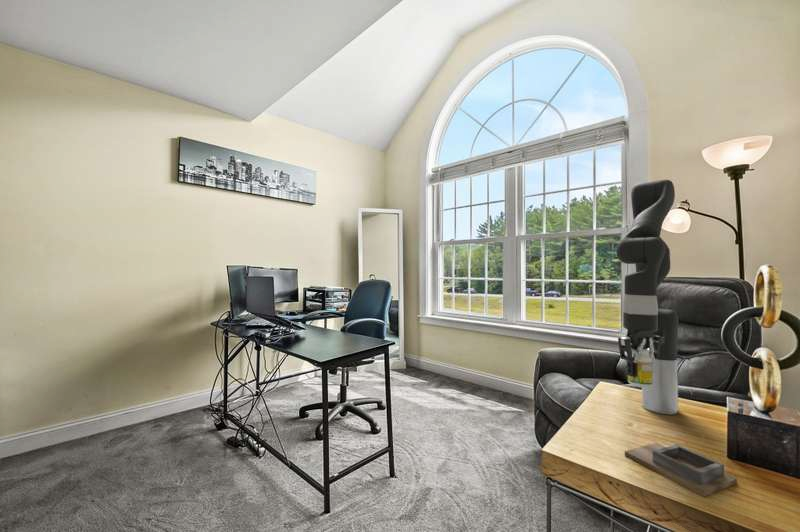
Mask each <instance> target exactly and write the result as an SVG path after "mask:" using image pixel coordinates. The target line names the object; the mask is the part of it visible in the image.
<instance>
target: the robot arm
mask: <svg viewBox="0 0 800 532" xmlns="http://www.w3.org/2000/svg"><path fill="white" fill-rule="evenodd" d="M675 190H676V189H675V185H674V183H673V181H672V180H669V179H657V180H651V181H646V182H639V183H636V184H634V185H633V186H632V188H631V192H630V200H631V210H632V216H633V218H632V219H633V222H632V225H631V228H630V231H628V232H627V233H626V234H625V235H624V236H623V237H622V238H621V239H620V241H619V242H618V244H617V246H616V250H615V251H616V257H617V259H618V260H619V262H621V263H622V264H623V263H624V264H627V265H635V272H630V273H626V274H625V276H624V296H623V306H622V309H623V311H622V316H623V317H622V318H623V320H622V322H623V325H622V327H623V328H624V329H626V330H627V332H626V335H625V336H624V337H622V336H618V338H617V341H618V342H617V343H618V351H619V357H620V359H621V360H623V361H626V373H627V376H628V375H629V376H632V377H637V376H638V363H637V361H638V357H639V355H641V354H642V350H643V349H649V355H648V357H650V358H651V359H652V372H653V384H652V386H651V387H641V406H642V408H644V409H646V410H647V411H650V412H653V413H658V414H662V415H676V414H678V411H679V382H678V335H679V315H678V313H677V312H676V310H674V309H668V308H667V309H666V308H665V309H664V308H658V307H659V303H658V298H657V297H658V296H657V295H658V294H657V291H658V288H659V286H660V285H661V283H663V281H665V279H666V278H667V276H668V275H669V273H670V270H671V250H670V248H669V246H668V244H667V243H666V242H665V241H664V239H662V237H661V232H662V228H663V227H662V226H663V223H664V220H665V219H666V218H667V216H668V214H669V213H670V211H671V209H672V207H673V205H674V202H675V198H676V197H675V196H676V194H675V193H676V191H675ZM662 338H663V341H662ZM631 348H632V349H635V350H631ZM632 353H633V354H634V356H633V357H632Z"/></svg>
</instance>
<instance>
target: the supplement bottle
mask: <svg viewBox="0 0 800 532" xmlns="http://www.w3.org/2000/svg"><path fill="white" fill-rule="evenodd" d="M631 350H635V349H632V348H631ZM648 355H649V349H643V350H642V354H641V355H639V357H638V361H637V363H638V376H637V377H632V376H629V375H628V374H627V382H628V383H629V384H630V385H633V386H636V387H641V388H642V387H651V386H652V384H653V372H652V359H651V358H650V357H648ZM633 356H634V354H633V353H632V357H633Z"/></svg>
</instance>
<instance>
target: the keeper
mask: <svg viewBox="0 0 800 532" xmlns="http://www.w3.org/2000/svg"><path fill="white" fill-rule="evenodd" d="M624 456H625V457H627V456H628V457H627V458H629V459H631V460H633V461H634V462H637V463H638V462H639V464H640V465H643V466H645V467H647V468H648V469H650V470H652V471H654V472H656V473H658V474H660V475H662V476H663V475H664V477H665V476H666V478H667V477H668V479H669V478H670V479H669V480H671V481H673V482H675V483H677V484H678V485H681V486H683V487H685V488H686V489H689V490H691V491H693V492H694V493H696V494H698V495H700V496H702V497H704V498H705V497H706V496H709V495H711V494H715V493H717V492H719V491H723V490H724V489H726V488H729V487H731V486H733V485H736V484H738V478H737V477H734V476H733V475H730V474H728V473H725V464H724V463H721V462H719V461H717V460H714V459H712V458H710V457H708V456H705V455H703V454H701V453H698V452H696V451H693V450H692V449H689V448H686V447H684V446H681V445H679V444H673V445H669V446H664V445H662V444H660V443H658V442H653V443H649V444H646V445H642V446H639V447H636V448H631V449H628V450H625V451H624Z"/></svg>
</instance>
